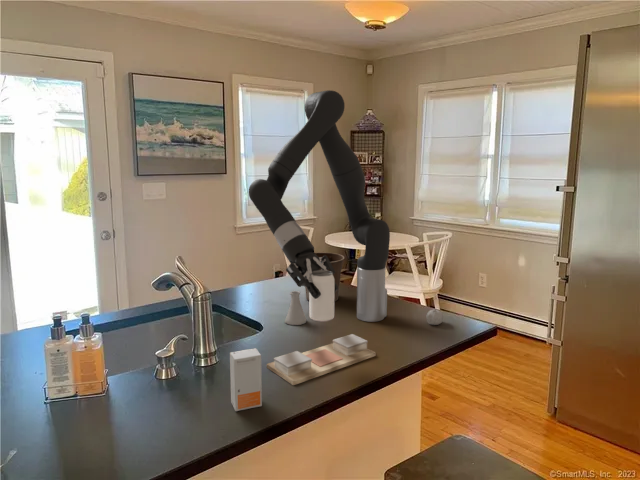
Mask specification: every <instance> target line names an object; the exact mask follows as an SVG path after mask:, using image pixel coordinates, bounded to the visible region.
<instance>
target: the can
mask: <svg viewBox="0 0 640 480" xmlns="http://www.w3.org/2000/svg"><path fill="white" fill-rule="evenodd" d="M311 276H312V283H314V285H315V286H316V287H317V288H318V289H319V291H320V293H321V295H320V296H319V297H318V298H317V299H315V298H314V297H313V296H312V295H311V294H310V292H309V300H308V301H309V307H308V308H309V310H308V311H309V313H308V314H309V318H310V320H312V321H315V322H322V323H325V322H330V321H331V320H332V321H333V319H334V318H335V301H334V277H333V272H331V271H327V270H317V271H313V272H312V275H311Z"/></svg>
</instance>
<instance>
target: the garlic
mask: <svg viewBox="0 0 640 480" xmlns="http://www.w3.org/2000/svg"><path fill="white" fill-rule="evenodd" d="M425 317H426V322H427V324H429V325H431V326H437V325H441V323H443V322H444V314H443V312H442V311H440V310H438V309H435V308H433V309H429V310H428V312H427V313H426V316H425Z"/></svg>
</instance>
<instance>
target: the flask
mask: <svg viewBox="0 0 640 480" xmlns="http://www.w3.org/2000/svg"><path fill="white" fill-rule="evenodd" d="M289 295H290V298H291V299H290V303H289V308H288V310H287V314H286V317H285V320H284V322H283V323H284V324H286V325H287V324H288V325H290V326H300V325H303V324H306V323H307V317H306V314H305V312H304V309H303V306H302V304H301V299H300V295H301V291H298V290H292V291H290V293H289Z"/></svg>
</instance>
